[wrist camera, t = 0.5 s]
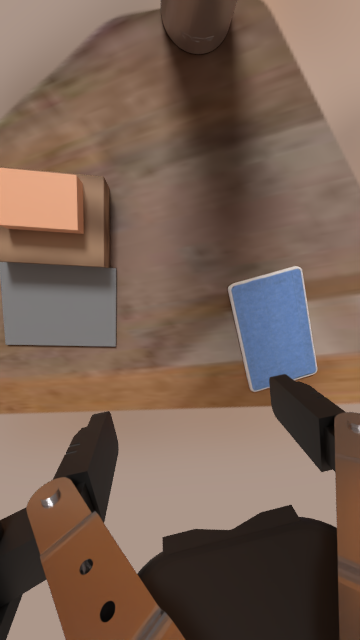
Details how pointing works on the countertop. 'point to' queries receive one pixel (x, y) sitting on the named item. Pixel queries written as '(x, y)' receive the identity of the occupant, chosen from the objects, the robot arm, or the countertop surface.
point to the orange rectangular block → (41, 201)
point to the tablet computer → (273, 326)
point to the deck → (65, 234)
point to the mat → (58, 304)
